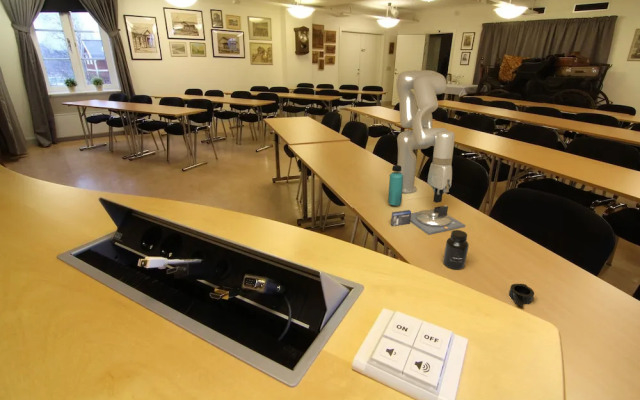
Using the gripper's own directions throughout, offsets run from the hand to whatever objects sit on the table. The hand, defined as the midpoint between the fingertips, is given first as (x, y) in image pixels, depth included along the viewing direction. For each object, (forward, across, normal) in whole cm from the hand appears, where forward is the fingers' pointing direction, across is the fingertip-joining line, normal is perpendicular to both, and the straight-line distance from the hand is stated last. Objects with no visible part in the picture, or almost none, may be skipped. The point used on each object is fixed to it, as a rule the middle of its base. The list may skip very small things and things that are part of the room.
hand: (437, 201), depth 140 cm
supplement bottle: (+8, +33, -19) cm, 39 cm away
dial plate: (+7, +4, -5) cm, 9 cm away
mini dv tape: (+7, +1, -19) cm, 20 cm away
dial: (+6, +4, -5) cm, 9 cm away
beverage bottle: (+7, -17, -11) cm, 21 cm away
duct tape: (+9, +53, -13) cm, 56 cm away
